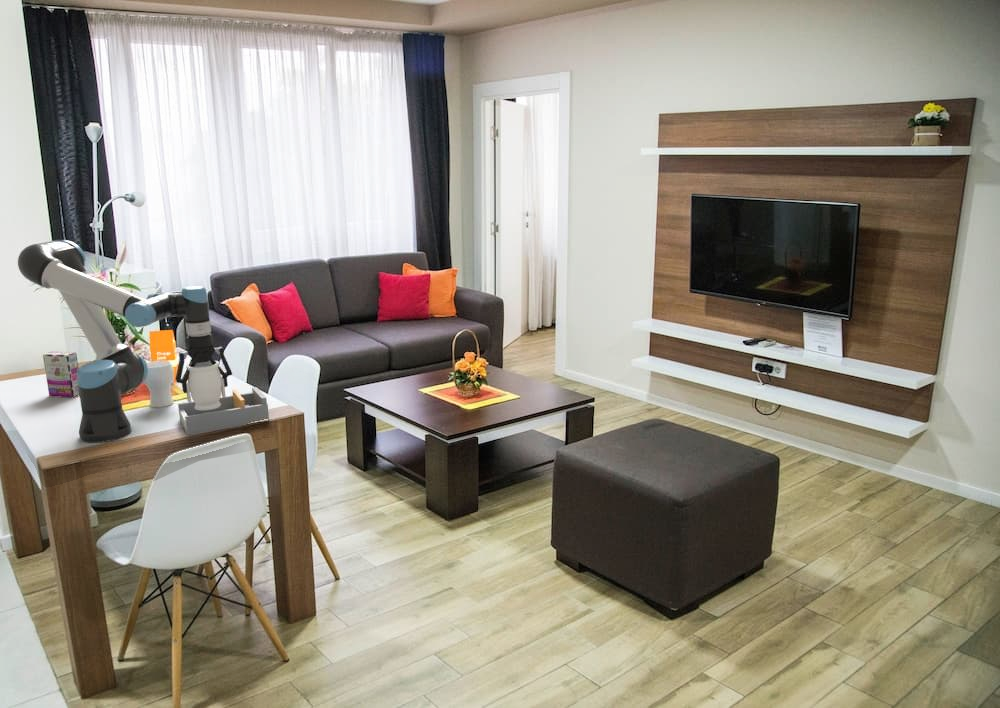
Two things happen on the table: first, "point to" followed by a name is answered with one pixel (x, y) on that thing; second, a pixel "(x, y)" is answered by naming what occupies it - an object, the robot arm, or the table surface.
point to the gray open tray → (224, 413)
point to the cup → (160, 383)
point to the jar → (205, 385)
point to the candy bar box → (61, 373)
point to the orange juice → (164, 348)
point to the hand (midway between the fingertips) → (206, 399)
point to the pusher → (238, 400)
